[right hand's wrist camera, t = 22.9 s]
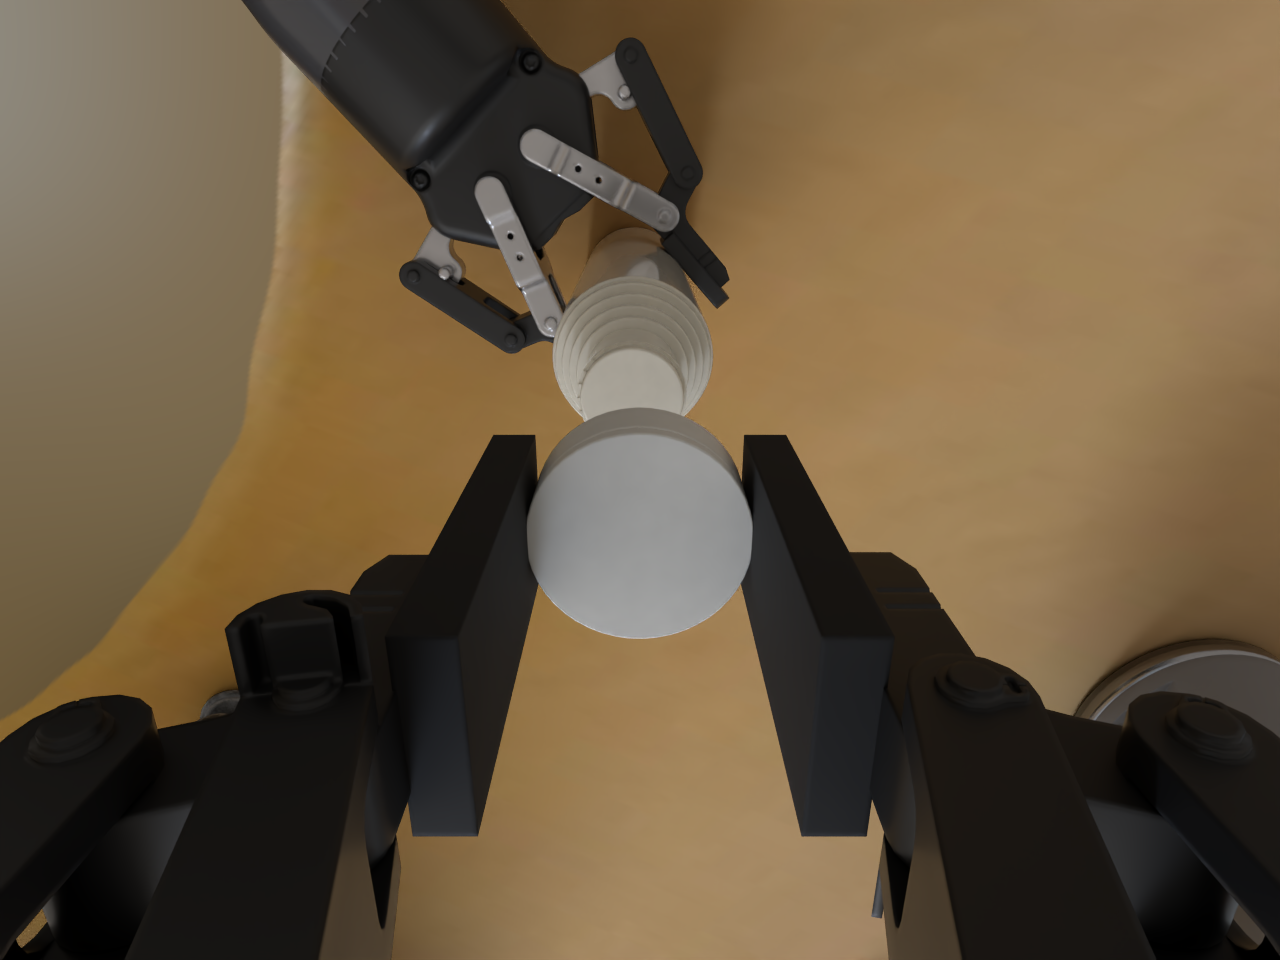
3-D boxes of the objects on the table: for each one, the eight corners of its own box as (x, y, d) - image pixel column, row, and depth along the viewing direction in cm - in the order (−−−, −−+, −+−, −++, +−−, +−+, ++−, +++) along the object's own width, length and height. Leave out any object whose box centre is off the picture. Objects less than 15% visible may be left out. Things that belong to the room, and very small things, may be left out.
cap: (559, 608, 15) (550, 653, 14) (515, 424, 14) (502, 453, 13) (753, 580, 15) (766, 622, 14) (730, 390, 14) (740, 415, 12)
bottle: (569, 251, 40) (501, 350, 20) (659, 210, 39) (684, 267, 19) (610, 340, 42) (585, 515, 21) (696, 302, 41) (756, 445, 21)
